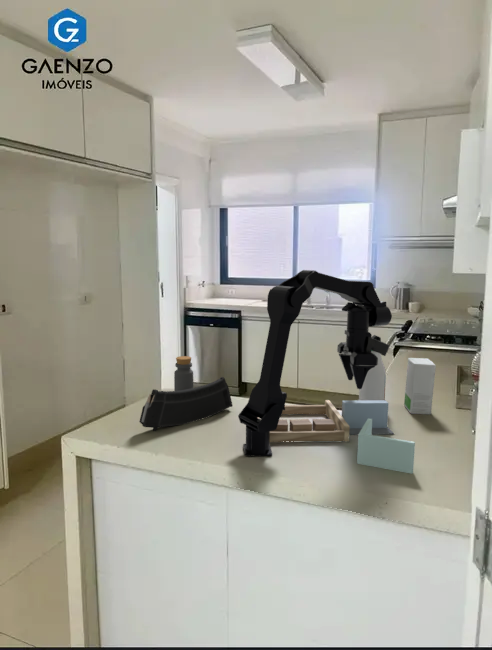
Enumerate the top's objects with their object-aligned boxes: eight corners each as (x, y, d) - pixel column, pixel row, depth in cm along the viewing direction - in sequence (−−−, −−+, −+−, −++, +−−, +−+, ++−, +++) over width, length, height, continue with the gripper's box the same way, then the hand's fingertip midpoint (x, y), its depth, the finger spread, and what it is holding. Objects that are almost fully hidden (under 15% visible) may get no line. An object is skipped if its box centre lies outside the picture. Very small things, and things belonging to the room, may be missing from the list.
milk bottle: (383, 413, 144) (386, 348, 141) (356, 410, 147) (359, 346, 144) (385, 406, 151) (388, 343, 149) (360, 403, 154) (363, 341, 151)
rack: (348, 441, 122) (349, 426, 121) (256, 442, 121) (257, 427, 120) (328, 413, 144) (329, 400, 144) (250, 413, 143) (250, 400, 142)
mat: (393, 434, 127) (393, 432, 127) (345, 434, 127) (345, 433, 126) (381, 421, 137) (381, 420, 137) (336, 421, 136) (336, 420, 136)
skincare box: (403, 405, 152) (406, 357, 150) (425, 406, 152) (428, 357, 150) (410, 414, 144) (413, 363, 142) (433, 414, 144) (436, 363, 141)
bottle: (188, 408, 147) (188, 360, 145) (171, 406, 149) (170, 358, 147) (196, 402, 152) (196, 356, 150) (179, 401, 154) (179, 355, 152)
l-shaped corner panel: (412, 476, 104) (414, 443, 103) (356, 466, 109) (358, 434, 108) (417, 455, 115) (419, 425, 114) (366, 447, 120) (367, 418, 119)
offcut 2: (311, 439, 124) (312, 424, 123) (292, 439, 123) (293, 424, 123) (307, 433, 128) (308, 418, 127) (289, 434, 127) (289, 419, 126)
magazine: (231, 378, 148) (151, 364, 127) (239, 380, 146) (158, 366, 125) (219, 433, 147) (136, 428, 126) (226, 436, 145) (143, 431, 124)
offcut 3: (334, 439, 124) (335, 424, 123) (315, 439, 124) (315, 424, 123) (330, 433, 128) (331, 418, 127) (312, 433, 128) (312, 419, 127)
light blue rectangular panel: (387, 427, 131) (388, 403, 130) (343, 428, 130) (344, 403, 129) (383, 424, 133) (385, 400, 132) (341, 425, 133) (342, 400, 132)
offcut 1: (287, 439, 123) (288, 424, 122) (268, 439, 123) (268, 424, 122) (286, 434, 127) (286, 419, 126) (267, 433, 127) (267, 419, 126)
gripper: (399, 333, 121) (395, 394, 123) (376, 323, 139) (373, 376, 141) (355, 332, 120) (352, 393, 122) (338, 323, 139) (335, 376, 141)
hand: (354, 384), depth 132 cm, fingers open, 9 cm apart
